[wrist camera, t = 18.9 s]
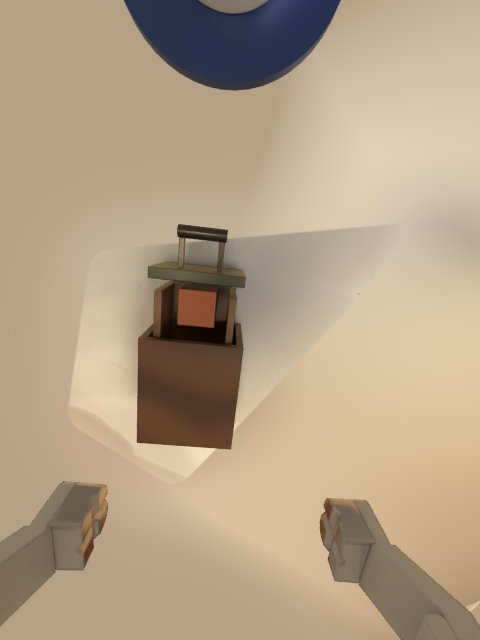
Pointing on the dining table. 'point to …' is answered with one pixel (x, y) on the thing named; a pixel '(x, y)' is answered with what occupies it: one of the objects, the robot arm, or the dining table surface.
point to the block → (197, 305)
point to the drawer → (169, 292)
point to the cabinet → (187, 391)
